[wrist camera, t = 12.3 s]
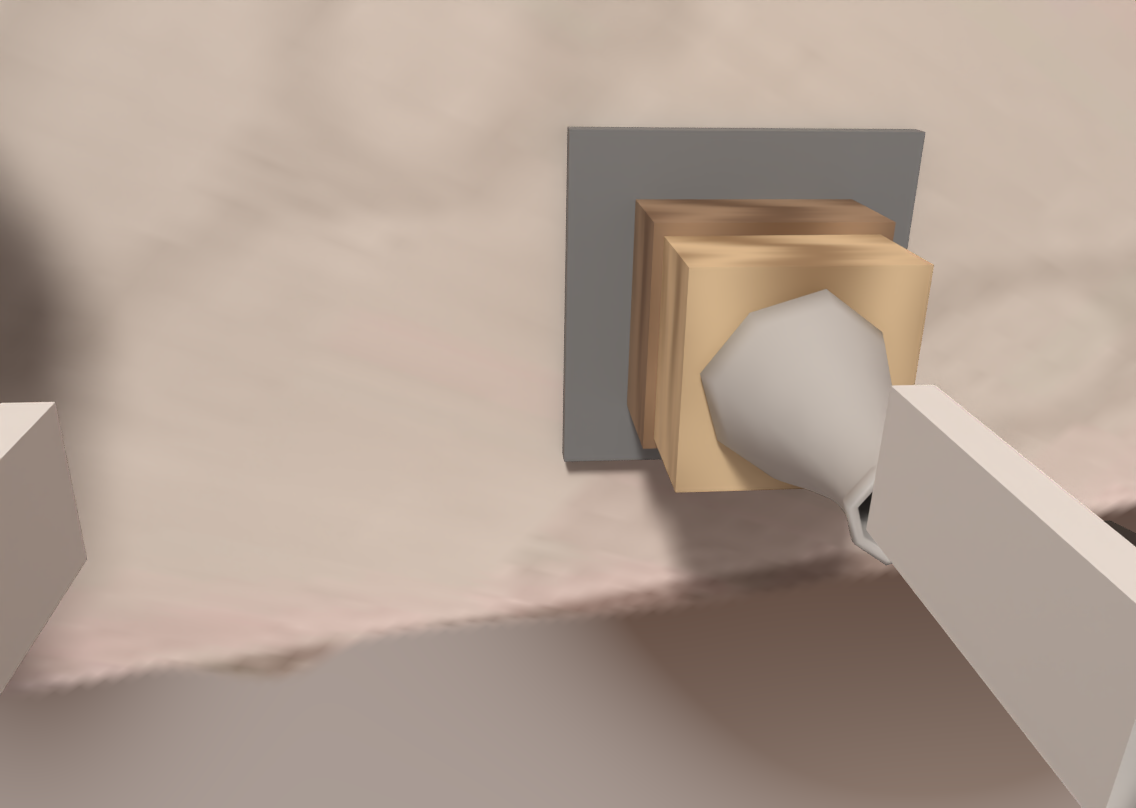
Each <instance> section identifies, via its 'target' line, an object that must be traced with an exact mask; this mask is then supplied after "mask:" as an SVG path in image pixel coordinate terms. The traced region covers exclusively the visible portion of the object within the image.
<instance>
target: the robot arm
mask: <svg viewBox="0 0 1136 808" xmlns="http://www.w3.org/2000/svg"><path fill="white" fill-rule="evenodd" d="M866 530H867V532H868V533H869V534H870V535H871V537H872V538H873V539H874V541H875V542H876V543H877V545H878V546H879V547H880V548H881V550H882V551H883V552H884V554H885V555H886V556H887V557H888V559H889V560H890V561H891V563H892V564H893V565H894V566H895V568H896V569H897V570H898V572H899V573H900V574H901V575H902V577H903V578H904V579H905V580H906V582H907V583H908V584H909V586H910V587H911V588H912V590H913V591H914V592H915V593H916V595H917V596H918V597H919V598H920V600H921V601H922V602H923V604H924V605H925V606H926V608H927V609H928V610H929V611H930V613H931V614H932V615H933V617H934V618H935V619H936V620H937V622H938V623H939V624H940V626H941V627H942V628H943V630H944V631H945V632H946V633H947V635H948V636H949V637H950V638H951V640H952V641H953V642H954V644H955V645H956V646H957V648H958V649H959V650H960V651H961V653H962V654H963V655H964V656H965V658H966V659H967V660H968V662H969V663H970V664H971V666H972V667H973V668H974V669H975V670H976V672H977V673H978V674H979V676H980V677H981V678H982V680H983V681H984V682H985V684H986V685H987V686H988V687H989V689H990V690H991V691H992V693H993V694H994V695H995V696H996V698H997V699H998V700H999V702H1000V703H1001V704H1002V705H1003V707H1004V708H1005V709H1006V711H1007V712H1008V713H1009V715H1010V716H1011V717H1012V718H1013V720H1014V721H1015V722H1016V723H1017V725H1018V726H1019V727H1020V729H1021V730H1022V731H1023V733H1024V734H1025V735H1026V736H1027V738H1028V739H1029V740H1030V741H1031V743H1032V744H1033V745H1034V747H1035V748H1036V749H1037V751H1038V752H1039V753H1040V754H1041V756H1042V757H1043V758H1044V759H1045V761H1046V762H1047V763H1048V765H1049V766H1050V767H1051V769H1052V770H1053V771H1054V772H1055V774H1056V775H1057V776H1058V778H1059V779H1060V780H1061V781H1062V783H1063V784H1064V785H1065V787H1066V788H1067V789H1068V790H1069V792H1070V793H1071V794H1072V796H1073V797H1074V798H1075V799H1076V801H1077V802H1078V803H1079V804H1080V806H1081V807H1082V808H1136V533H1134V532H1132V531H1130V530H1128V529H1126V528H1124V527H1122V526H1120V525H1118V524H1116V523H1114V522H1112V521H1103V520H1102V519H1100V518H1099V517H1098V516H1097V515H1095V514H1094V513H1093V512H1092V511H1091V510H1089V509H1088V508H1087V507H1086V506H1084V505H1083V504H1082V503H1081V502H1079V501H1078V500H1077V499H1076V498H1074V497H1073V496H1072V495H1071V494H1069V493H1068V492H1067V491H1066V490H1065V489H1063V488H1062V487H1061V486H1060V485H1058V484H1057V483H1056V482H1055V481H1053V480H1052V479H1051V478H1050V477H1048V476H1047V475H1046V474H1045V473H1043V472H1042V471H1041V470H1040V469H1039V468H1037V467H1036V466H1035V465H1034V464H1032V463H1031V462H1030V461H1029V460H1027V459H1026V458H1025V457H1024V456H1022V455H1021V454H1020V453H1019V452H1017V451H1016V450H1015V449H1014V448H1013V447H1011V446H1010V445H1009V444H1008V443H1006V442H1005V441H1004V440H1003V439H1001V438H1000V437H999V436H998V435H996V434H995V433H994V432H993V431H991V430H990V429H989V428H988V427H987V426H985V425H984V424H983V423H982V422H980V421H979V420H978V419H977V418H975V417H974V416H973V415H972V414H970V413H969V412H968V411H967V410H965V409H964V408H963V407H962V406H960V405H959V404H958V403H957V402H956V401H954V400H953V399H952V398H951V397H949V396H948V395H947V394H946V393H944V392H943V391H942V390H941V389H939V388H938V387H937V386H936V385H894V386H891V388H890V394H889V399H888V405H887V411H886V417H885V423H884V429H883V434H882V440H881V446H880V452H879V458H878V463H877V469H876V475H875V481H874V487H873V493H872V498H871V504H870V510H869V516H868V522H867V527H866ZM86 560H87V556H86V551H85V546H84V541H83V536H82V531H81V526H80V521H79V516H78V511H77V506H76V502H75V497H74V492H73V487H72V482H71V477H70V472H69V467H68V462H67V457H66V452H65V447H64V442H63V437H62V432H61V427H60V422H59V417H58V412H57V407H56V402H23V403H1V404H0V695H1V693H2V692H3V690H4V689H5V687H6V686H7V684H8V682H9V681H10V679H11V678H12V676H13V675H14V673H15V671H16V670H17V668H18V667H19V665H20V664H21V662H22V660H23V659H24V657H25V656H26V654H27V653H28V651H29V649H30V648H31V646H32V645H33V643H34V642H35V640H36V638H37V637H38V635H39V634H40V632H41V631H42V629H43V627H44V626H45V624H46V623H47V621H48V620H49V618H50V617H51V615H52V613H53V612H54V610H55V609H56V607H57V606H58V604H59V602H60V601H61V599H62V598H63V596H64V595H65V593H66V591H67V590H68V588H69V587H70V585H71V584H72V582H73V580H74V579H75V577H76V576H77V574H78V573H79V571H80V569H81V568H82V566H83V565H84V563H85V562H86Z"/></svg>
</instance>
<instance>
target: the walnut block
mask: <svg viewBox="0 0 1136 808" xmlns="http://www.w3.org/2000/svg"><path fill="white" fill-rule="evenodd" d="M895 225H896V222H894V221H893V220H891V219H889V218H887V217H885V216H883V215H881V214H879V213H877V212H875V211H873V210H872V209H870V208H868V207H866V206H864V205H862V204H860V203H858V202H856V201H854V200H853V199H636V202H635V226H634V249H633V273H632V296H631V320H630V344H629V367H628V391H627V407H628V409H629V412H630V415H631V418H632V420H633V423H634V426H635V429H636V431H637V434H638V437H639V439H640V442H641V445H642V448H643V449H653V448H657V445H656V443H655V440H654V430H655V410H656V390H657V370H658V351H659V331H660V311H661V291H662V271H663V251H664V236H755V235H880V234H881V235H882V236H884V237H886V238H888V239H889V240H891V241H893V238H894V231H895Z"/></svg>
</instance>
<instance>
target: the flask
mask: <svg viewBox="0 0 1136 808" xmlns="http://www.w3.org/2000/svg"><path fill="white" fill-rule="evenodd" d="M700 376H701V380H702V383H703V387H704V391H705V395H706V399H707V403H708V406H709V410H710V414H711V418H712V422H713V425H714V429H715V433H716V437H717V440H718V441H719V442H721V443H722V444H723V445H725V446H726V447H728V448H729V449H731V450H732V451H734V452H735V453H737V454H738V455H740V456H741V457H743V458H744V459H746V460H747V461H749V462H750V463H752V464H753V465H755V466H756V467H758V468H759V469H760V470H762V471H763V472H765V473H766V474H768V475H769V476H771V477H772V478H774V479H777V480H779V481H782V482H785V483H788V484H792V485H795V486H798V487H801V488H804V489H808V490H810V491H813V492H815V493H817V494H820V495H822V496H825V497H827V498H830V499H832V500H833V501H834V502H836V503H837V504H838V505H839V506H840V507H841V509H842V510H843V511H844V513H845V514H846V516H847V521H848V526H849V531H850V536H851V540H852V542H853V543H854V544H855V545H857V546H858V547H860V548H861V549H863V550H864V551H866V552H867V553H868V554H870V555H871V556H873V557H874V558H876V559H877V560H879V561H880V562H882V563H883V564H885V565H889V564H892V563H891V561H890V560H889V559H888V557H887V556H886V555H885V554H884V552H883V551H882V550H881V548H880V547H879V546H878V545H877V543H876V542H875V541H874V539H873V538H872V537H871V535H870V534H869V533H868V532H867V530H866V527H867V522H868V516H869V510H870V504H871V498H872V493H873V487H874V481H875V475H876V469H877V463H878V458H879V452H880V446H881V440H882V434H883V429H884V423H885V417H886V411H887V405H888V399H889V394H890V388H891V386H892V382H891V377H890V371H889V365H888V359H887V354H886V348H885V343H884V338H883V333H882V331H880V330H879V329H878V328H876V327H875V326H874V325H873V324H871V323H870V322H869V321H867V320H866V319H865V318H863V317H862V316H861V315H860V314H858V313H857V312H856V311H854V310H853V309H852V308H850V307H849V306H848V305H847V304H845V303H844V302H843V301H841V300H840V299H839V298H837V297H836V296H835V295H834V294H832V293H831V292H830V291H828V290H827V289H824V290H821V291H818V292H815V293H811V294H808V295H805V296H802V297H799V298H795V299H792V300H789V301H786V302H783V303H779V304H776V305H773V306H770V307H767V308H763V309H760V310H757V311H754V312H750V313H749V314H748V316H747V317H746V318H745V319H744V320H743V322H742V323H741V324H740V325H739V327H738V328H737V329H736V330H735V331H734V333H733V334H732V335H731V336H730V338H729V339H728V340H727V341H726V342H725V344H724V345H723V346H722V347H721V349H720V350H719V351H718V352H717V353H716V355H715V356H714V357H713V358H712V360H711V361H710V362H709V363H708V365H707V366H706V367H705V368H704V369H703V371H702V372H701V373H700Z"/></svg>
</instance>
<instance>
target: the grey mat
mask: <svg viewBox="0 0 1136 808" xmlns="http://www.w3.org/2000/svg"><path fill="white" fill-rule="evenodd" d="M924 138H925V132H923V131H920V130H916V129H786V128H644V127H568V134H567V198H566V262H565V325H564V389H563V452H562V453H563V458H564V461H606V460H650V459H662V458H661V455H660V453H659V450H658V448H653V449H643V448H642V445H641V442H640V439H639V437H638V434H637V431H636V429H635V426H634V423H633V420H632V418H631V415H630V412H629V409H628V407H627V391H628V367H629V344H630V320H631V296H632V273H633V249H634V226H635V202H636V199H853V200H854V201H856V202H858V203H860V204H862V205H864V206H866V207H868V208H870V209H872V210H873V211H875V212H877V213H879V214H881V215H883V216H885V217H887V218H889V219H891V220H893V221H894V222H896V225H895V231H894V238H893V242H895V243H896V244H898V245H900V246H902V247H903V248H905V249H907V247H908V241H909V234H910V228H911V221H912V215H913V208H914V202H915V196H916V189H917V183H918V176H919V170H920V163H921V157H922V151H923V144H924Z"/></svg>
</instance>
